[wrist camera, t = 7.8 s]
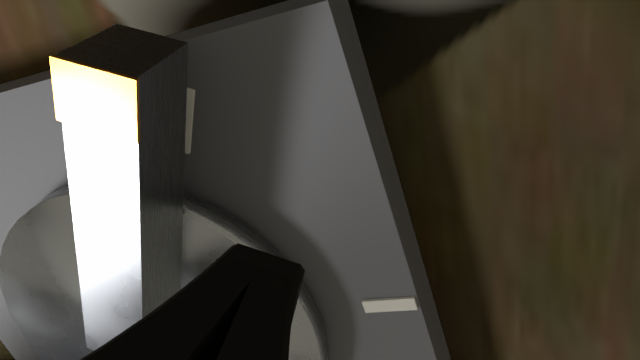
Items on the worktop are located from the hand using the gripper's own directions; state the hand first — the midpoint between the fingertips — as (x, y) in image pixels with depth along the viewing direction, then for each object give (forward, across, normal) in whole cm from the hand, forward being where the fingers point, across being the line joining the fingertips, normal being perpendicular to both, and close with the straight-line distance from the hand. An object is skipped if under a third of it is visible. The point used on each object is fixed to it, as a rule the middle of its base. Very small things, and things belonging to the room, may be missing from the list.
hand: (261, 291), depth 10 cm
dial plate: (+8, +5, +10) cm, 14 cm away
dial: (+6, +5, +7) cm, 11 cm away
